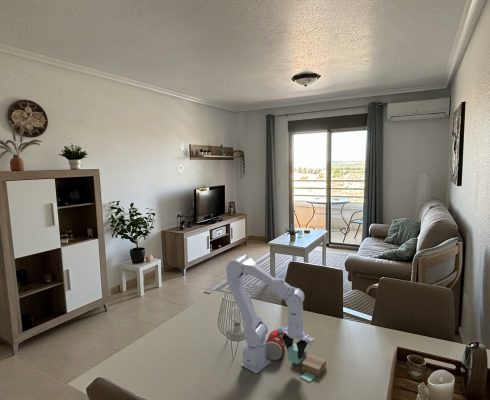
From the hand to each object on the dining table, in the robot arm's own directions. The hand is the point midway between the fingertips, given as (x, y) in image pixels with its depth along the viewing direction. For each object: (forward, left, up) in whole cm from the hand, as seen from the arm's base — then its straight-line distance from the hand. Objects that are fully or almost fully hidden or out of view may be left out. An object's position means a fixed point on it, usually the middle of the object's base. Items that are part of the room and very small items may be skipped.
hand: (295, 355), depth 121 cm
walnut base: (+6, -4, -7) cm, 10 cm away
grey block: (+7, +2, -7) cm, 10 cm away
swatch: (+1, -5, -7) cm, 9 cm away
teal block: (0, 0, -2) cm, 2 cm away
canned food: (+11, +16, -3) cm, 19 cm away
